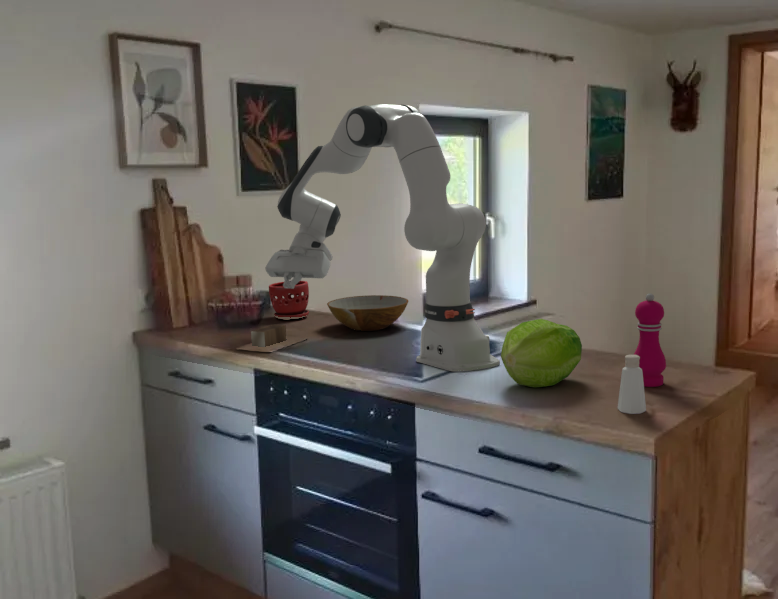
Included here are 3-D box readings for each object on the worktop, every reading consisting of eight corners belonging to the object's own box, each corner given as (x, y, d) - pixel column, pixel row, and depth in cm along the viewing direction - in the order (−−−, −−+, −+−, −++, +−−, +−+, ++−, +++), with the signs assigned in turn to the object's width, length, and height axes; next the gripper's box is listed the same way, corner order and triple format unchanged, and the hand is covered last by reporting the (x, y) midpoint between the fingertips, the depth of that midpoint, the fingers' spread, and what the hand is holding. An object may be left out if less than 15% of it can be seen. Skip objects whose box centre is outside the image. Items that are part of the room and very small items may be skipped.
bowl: (315, 334, 243) (313, 308, 242) (345, 318, 267) (344, 294, 265) (395, 337, 235) (394, 310, 234) (419, 320, 259) (418, 295, 257)
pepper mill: (627, 379, 182) (628, 291, 179) (660, 378, 182) (661, 290, 178) (636, 388, 175) (637, 296, 171) (670, 387, 175) (672, 295, 171)
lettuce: (545, 397, 167) (485, 394, 178) (602, 374, 182) (544, 373, 194) (537, 328, 166) (477, 329, 177) (595, 310, 181) (536, 313, 193)
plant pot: (299, 313, 279) (297, 278, 277) (317, 318, 268) (315, 282, 266) (264, 318, 273) (262, 282, 271) (280, 323, 262) (278, 287, 260)
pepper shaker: (611, 408, 161) (612, 354, 159) (632, 404, 164) (633, 351, 162) (630, 416, 156) (631, 360, 155) (652, 411, 159) (653, 356, 157)
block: (285, 325, 232) (263, 332, 224) (286, 340, 233) (264, 348, 224) (272, 324, 235) (250, 331, 226) (273, 339, 235) (251, 347, 226)
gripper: (271, 243, 246) (254, 279, 239) (328, 243, 236) (312, 281, 229) (281, 256, 251) (264, 292, 244) (337, 257, 241) (321, 294, 234)
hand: (288, 287), depth 236 cm, fingers closed
